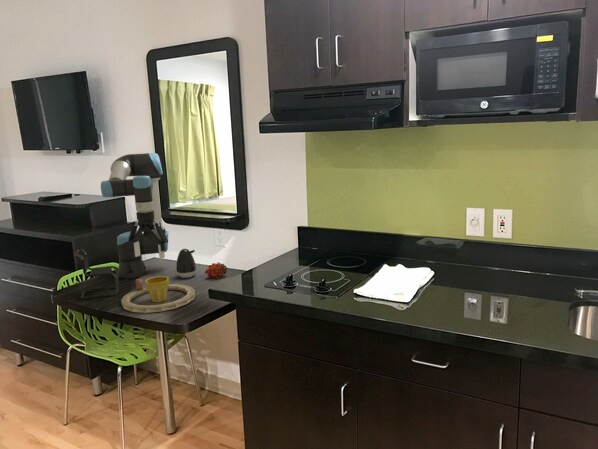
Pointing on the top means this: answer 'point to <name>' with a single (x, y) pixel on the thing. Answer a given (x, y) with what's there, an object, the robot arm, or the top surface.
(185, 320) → the top surface
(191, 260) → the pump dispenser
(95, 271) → the chair
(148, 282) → the plant pot
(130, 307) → the beige segmented ring
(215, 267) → the dragon fruit
